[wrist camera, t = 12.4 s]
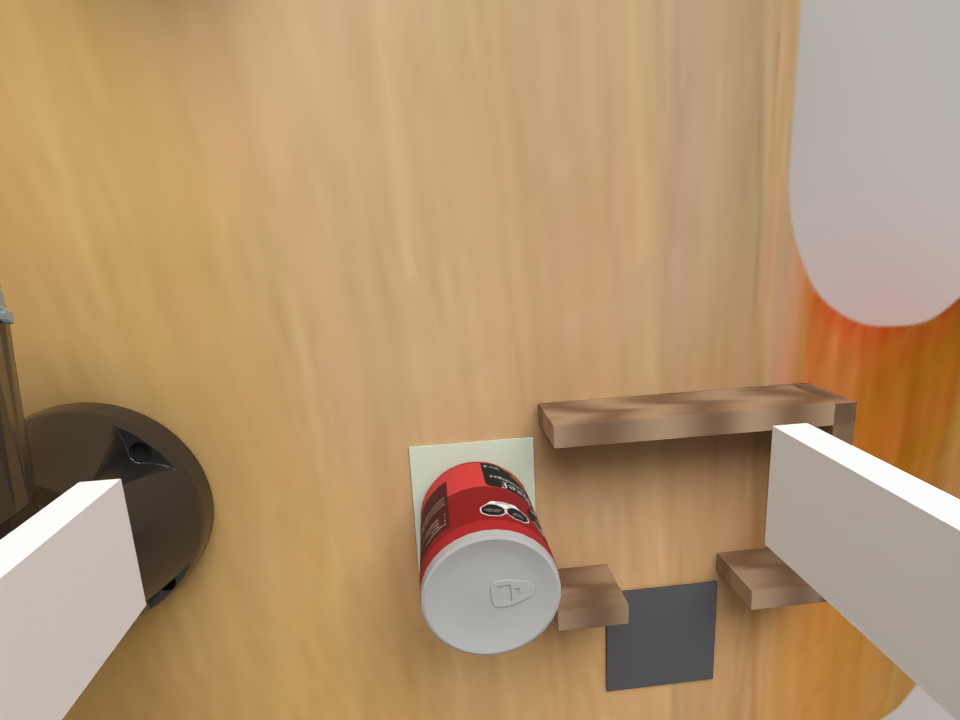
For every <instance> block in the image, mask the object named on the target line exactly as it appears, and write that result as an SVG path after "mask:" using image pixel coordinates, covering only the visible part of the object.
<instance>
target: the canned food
mask: <svg viewBox="0 0 960 720" xmlns="http://www.w3.org/2000/svg"><path fill="white" fill-rule="evenodd" d="M560 597H561V583H560V578H559V574H558V569H557V566H556V563H555V561H554V558H553V555H552V553H551V550H550V548H549V545H548V543H547V540H546V538H545V535H544V533H543V531H542V528H541V526H540V523H539V521H538V518H537V516H536V514H535V511H534V509H533V506H532V504H531V501H530V499H529V496H528V494H527V492H526V490H525V488H524V486H523V484H522V483H521V482H520V481H519V479H518V478H517V477H516V476H514V475H513V474H512V473H511V472H509V471H507V470H506V469H504V468H502V467H500V466H498V465H495V464H492V463H488V462H479V461H478V462H467V463H463V464H459V465H457V466H454V467H452V468H450V469H448V470H447V471H445V472H444V473H442V474H441V475H440V476H439V477H438V478H437V479H436V480H435V481H434V482H433V483H432V485H431V486H430V488H429V489H428V491H427V492H426V494H425V497H424V499H423V502H422V507H421V525H420V599H421V606H422V611H423V615H424V618H425V621H426V623H427V624H428V626H429V628H430V629H431V631H432V632H433V633H434V634H435V635H436V636H437V637H438V638H439V639H440V640H441V641H442V642H444V643H445V644H447V645H448V646H450V647H452V648H454V649H457V650H459V651H461V652H465V653H470V654H475V655H494V654H501V653H505V652H509V651H513V650H515V649H517V648H519V647H522V646H524V645H526V644H527V643H529V642H530V641H532V640H533V639H535V638H536V637H537V636H538V635H540V634H541V633H542V632H543V631H544V630H545V629H546V628H547V626H548V625H549V623H550V622H551V621H552V619H553V618H554V615H555V613H556V611H557V609H558V606H559V602H560Z"/></svg>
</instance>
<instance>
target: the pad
mask: <svg viewBox="0 0 960 720" xmlns="http://www.w3.org/2000/svg"><path fill="white" fill-rule="evenodd" d="M409 455H410V468H411V480H412V492H413V505H414V517H415V529H416V541H417V554H418V566H419V572H420V525H421V507H422V502H423V499H424V497H425V494H426V492H427V491H428V489H429V488H430V486H431V485H432V483H433V482H434V481H435V480H436V479H437V478H438V477H439V476H440V475H441V474H442V473H444V472H445V471H447V470H448V469H450V468H452V467H454V466H457V465H459V464H463V463H467V462H478V461H479V462H488V463H492V464H495V465H498V466H500V467H502V468H504V469H506V470H507V471H509V472H511V473H512V474H513V475H514V476H516V477H517V478H518V479H519V481H520V482H521V483H522V484H523V486H524V488H525V490H526V492H527V494H528V496H529V499H530V501H531V504H532V506H533V509H534V511H535V482H534V450H533V437H525V438H513V439H500V440H488V441H476V442H464V443H451V444H439V445H427V446H415V447H409Z"/></svg>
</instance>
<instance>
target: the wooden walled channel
mask: <svg viewBox="0 0 960 720" xmlns="http://www.w3.org/2000/svg"><path fill="white" fill-rule="evenodd" d="M856 403H857V402H855V401H853V400H850V399H848V398H845V397H843V396H840V395H837V394H835V393H832V392H830V391H827V390H825V389H822V388H820V387H817V386H815V385H812V384H810V383H800V384H787V385H774V386H761V387H748V388H735V389H722V390H709V391H696V392H683V393H670V394H657V395H644V396H631V397H618V398H604V399H591V400H578V401H565V402H552V403H539V424H540V425H541V427H542V429H543V430H544V432H545V434H546V435H547V437H548V439H549V440H550V442H551V444H552V445H553V447H554V449H555V448H566V447H578V446H590V445H602V444H614V443H626V442H638V441H650V440H662V439H674V438H686V437H698V436H710V435H722V434H734V433H746V432H758V431H770V430H773V426H777V425H789V424H801V423H808V424H810V425H812V426H814V427H816V428H818V429H820V430H822V431H824V432H826V433H828V434H830V435H832V436H834V437H836V438H838V439H840V440H842V441H844V442H846V443H848V444H850V445H852V443H853V433H854V423H855V413H856ZM717 571H718V572H719V573H720V575H721V576H722V577H723V578H724V579H725V580H726V582H727V583H728V584H729V585H730V586H731V587H732V589H733V590H734V591H735V592H736V593H737V594H738V595H739V597H740V598H741V599H742V600H743V601H744V602H745V604H746V605H747V606H748V607H749V608H750V609H751V610H755V609H764V608H773V607H782V606H791V605H800V604H809V603H818V602H827V601H826V600H825V599H824V598H823V597H822V596H821V595H820V594H819V593H817V592H816V591H815V590H814V589H813V588H812V587H811V586H810V585H809V584H808V583H807V582H806V581H804V580H803V579H802V578H801V577H800V576H799V575H798V574H797V573H796V572H795V571H794V570H792V569H791V568H790V567H789V566H788V565H787V564H786V563H785V562H784V561H783V560H782V559H780V558H779V557H778V556H777V555H776V554H775V553H774V552H773V551H772V550H771V549H770V548H764V549H754V550H744V551H734V552H724V553H717ZM558 574H559V578H560V583H561V597H560V602H559V606H558V609H557V611H556V613H555V615H554V619H555V622H556V625H557V628H558V631H564V630H573V629H582V628H591V627H601V626H610V625H619V624H628V623H629V604H628V603H627V601H626V599H625V597H624V595H623V593H622V592H621V590H620V588H619V586H618V584H617V583H616V581H615V579H614V577H613V575H612V573H611V572H610V570H609V568H608V566H607V564H605V565H596V566H586V567H576V568H566V569H558Z"/></svg>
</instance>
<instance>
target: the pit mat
mask: <svg viewBox="0 0 960 720" xmlns="http://www.w3.org/2000/svg"><path fill="white" fill-rule="evenodd" d="M621 592H622V593H623V595H624V597H625V599H626V601H627V603H628V604H629V623H628V624H619V625H610V626H607V691H613V690H621V689H630V688H638V687H646V686H655V685H663V684H672V683H680V682H688V681H697V680H705V679H713V662H714V641H715V620H716V599H717V582H716V581H713V582H704V583H694V584H685V585H675V586H666V587H656V588H647V589H637V590H628V591H621Z"/></svg>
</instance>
